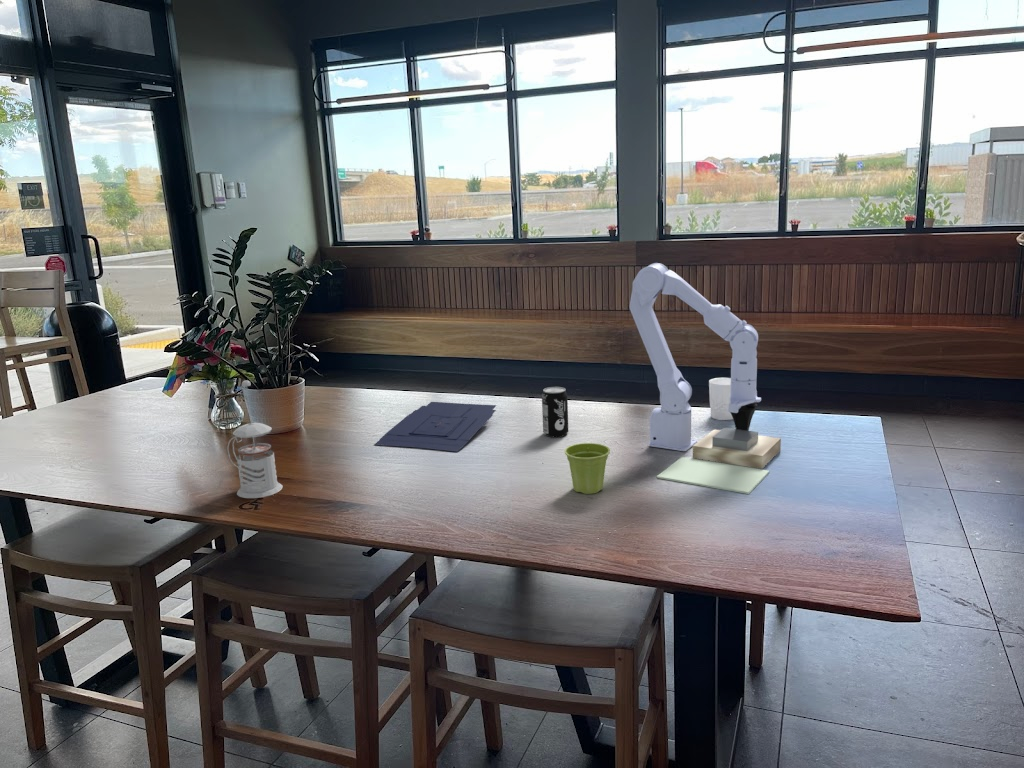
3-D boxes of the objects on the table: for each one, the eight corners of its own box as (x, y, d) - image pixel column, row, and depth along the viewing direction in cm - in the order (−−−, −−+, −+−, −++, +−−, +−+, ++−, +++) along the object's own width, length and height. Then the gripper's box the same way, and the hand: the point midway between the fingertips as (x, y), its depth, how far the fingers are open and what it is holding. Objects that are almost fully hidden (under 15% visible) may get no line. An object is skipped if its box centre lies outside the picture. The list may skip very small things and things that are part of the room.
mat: (656, 477, 168) (656, 476, 168) (681, 458, 179) (681, 457, 179) (748, 494, 157) (748, 492, 157) (769, 472, 168) (769, 470, 168)
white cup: (715, 411, 215) (715, 376, 213) (743, 415, 211) (743, 379, 208) (704, 418, 209) (704, 382, 207) (732, 422, 204) (733, 385, 202)
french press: (264, 500, 166) (249, 386, 160) (220, 495, 170) (204, 384, 164) (291, 483, 175) (278, 376, 169) (249, 479, 179) (235, 374, 173)
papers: (503, 414, 218) (502, 402, 217) (459, 461, 192) (458, 448, 191) (426, 410, 227) (425, 398, 225) (374, 454, 201) (372, 441, 199)
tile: (712, 446, 177) (712, 437, 177) (724, 436, 184) (724, 427, 183) (747, 451, 173) (747, 441, 173) (758, 441, 179) (758, 431, 179)
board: (692, 458, 179) (692, 445, 178) (714, 441, 190) (714, 429, 190) (762, 468, 170) (762, 455, 170) (780, 450, 181) (780, 438, 181)
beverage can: (573, 432, 203) (571, 387, 200) (560, 439, 197) (559, 393, 195) (551, 429, 206) (549, 385, 203) (538, 436, 201) (536, 391, 198)
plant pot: (616, 494, 160) (615, 454, 158) (571, 499, 158) (570, 459, 156) (603, 479, 169) (602, 441, 167) (561, 483, 167) (560, 445, 165)
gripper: (751, 387, 171) (749, 445, 174) (770, 373, 183) (768, 428, 186) (719, 384, 175) (718, 441, 178) (740, 370, 187) (739, 424, 190)
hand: (742, 434), depth 182 cm, fingers closed
